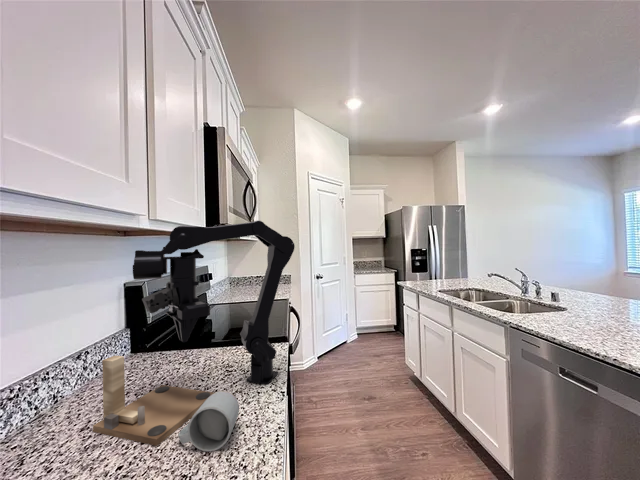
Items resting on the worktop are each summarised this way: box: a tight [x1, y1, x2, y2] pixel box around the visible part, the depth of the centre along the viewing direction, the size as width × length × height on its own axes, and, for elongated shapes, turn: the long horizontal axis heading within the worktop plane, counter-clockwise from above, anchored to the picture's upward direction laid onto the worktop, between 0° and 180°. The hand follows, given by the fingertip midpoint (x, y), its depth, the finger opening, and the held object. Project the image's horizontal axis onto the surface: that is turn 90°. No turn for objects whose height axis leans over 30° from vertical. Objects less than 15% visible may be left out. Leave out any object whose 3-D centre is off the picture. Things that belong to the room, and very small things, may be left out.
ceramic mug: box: [177, 390, 240, 452], centre depth 55 cm, size 11×8×8 cm
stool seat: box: [92, 384, 215, 447], centre depth 64 cm, size 17×16×4 cm
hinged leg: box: [101, 355, 138, 424], centre depth 59 cm, size 7×3×12 cm, turn 74°
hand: (183, 341), depth 71 cm, fingers closed
